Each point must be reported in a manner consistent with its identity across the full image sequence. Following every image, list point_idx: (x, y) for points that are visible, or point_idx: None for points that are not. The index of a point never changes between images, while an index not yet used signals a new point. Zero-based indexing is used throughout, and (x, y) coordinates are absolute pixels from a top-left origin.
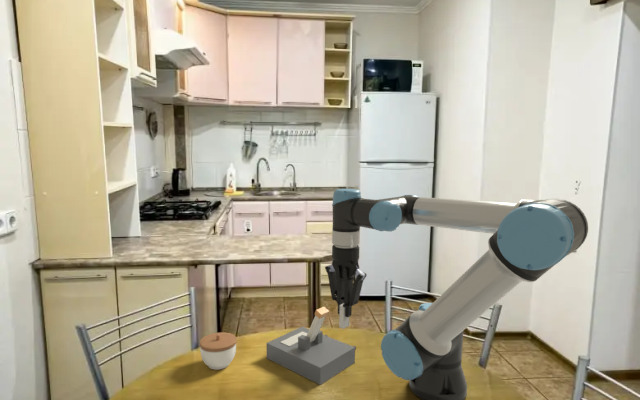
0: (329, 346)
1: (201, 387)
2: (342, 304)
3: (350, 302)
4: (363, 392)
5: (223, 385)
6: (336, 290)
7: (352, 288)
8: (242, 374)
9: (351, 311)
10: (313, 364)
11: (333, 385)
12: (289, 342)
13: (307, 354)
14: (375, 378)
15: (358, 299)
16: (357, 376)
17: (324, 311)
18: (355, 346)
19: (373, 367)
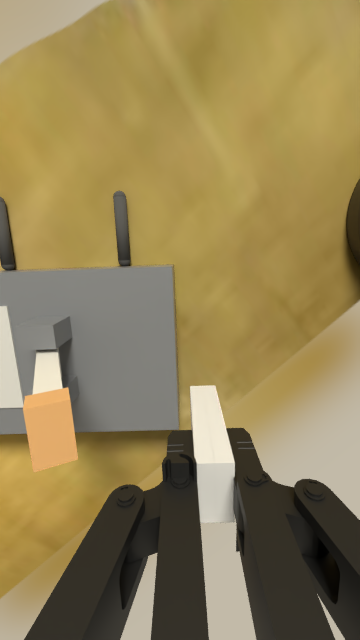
0: (107, 322)
1: (12, 559)
2: (203, 503)
3: (306, 560)
4: (275, 360)
5: (34, 531)
6: (118, 597)
7: (330, 638)
8: (21, 486)
9: (253, 445)
10: (152, 429)
11: (203, 385)
12: (4, 392)
13: (98, 403)
14: (264, 290)
15: (354, 518)
16: (223, 315)
17: (62, 428)
18: (120, 193)
19: (229, 247)
